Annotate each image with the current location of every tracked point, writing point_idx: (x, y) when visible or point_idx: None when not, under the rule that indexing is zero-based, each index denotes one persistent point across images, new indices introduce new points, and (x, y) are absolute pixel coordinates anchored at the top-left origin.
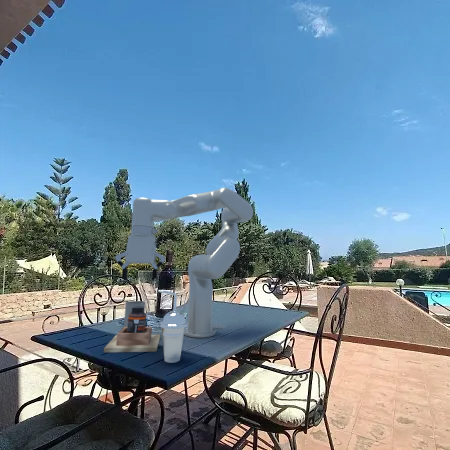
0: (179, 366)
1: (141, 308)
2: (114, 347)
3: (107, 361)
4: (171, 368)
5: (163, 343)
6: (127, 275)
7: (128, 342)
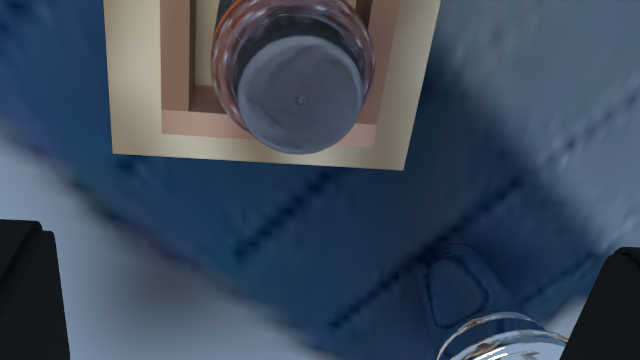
0: None
1: (337, 138)
2: (169, 144)
3: (176, 260)
4: (429, 341)
5: (429, 329)
6: (17, 297)
7: None
